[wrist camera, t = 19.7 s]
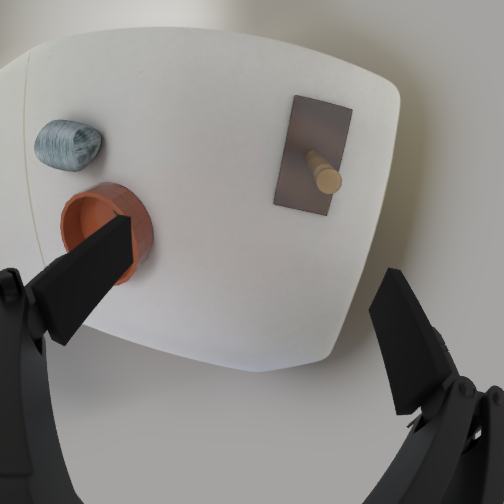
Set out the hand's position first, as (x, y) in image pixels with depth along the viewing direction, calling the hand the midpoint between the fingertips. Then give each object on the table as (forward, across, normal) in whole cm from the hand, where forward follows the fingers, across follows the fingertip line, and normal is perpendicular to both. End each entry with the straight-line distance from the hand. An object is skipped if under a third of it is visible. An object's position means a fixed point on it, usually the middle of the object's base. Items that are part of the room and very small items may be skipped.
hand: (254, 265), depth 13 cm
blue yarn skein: (+28, -35, +1) cm, 45 cm away
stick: (+26, +5, +2) cm, 27 cm away
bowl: (+28, -27, -15) cm, 42 cm away
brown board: (+28, +5, +2) cm, 28 cm away
